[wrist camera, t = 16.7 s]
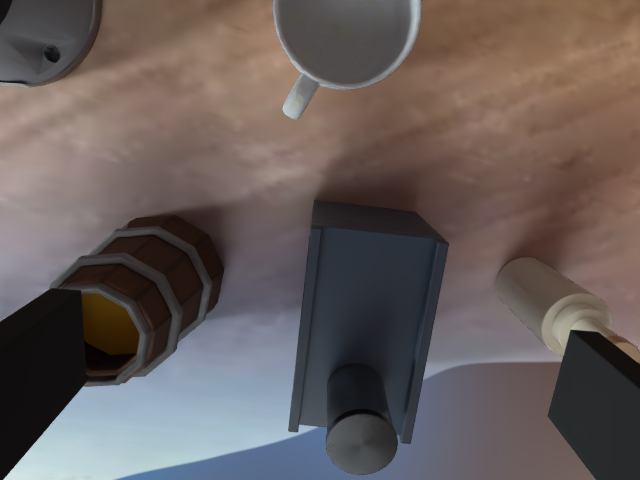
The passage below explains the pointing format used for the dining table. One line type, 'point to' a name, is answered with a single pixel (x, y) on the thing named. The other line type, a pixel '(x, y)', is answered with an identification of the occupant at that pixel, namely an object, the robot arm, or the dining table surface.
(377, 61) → the teacup
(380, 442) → the spice tin
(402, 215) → the blue channel bracket
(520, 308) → the oil bottle
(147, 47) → the dining table surface
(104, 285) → the mug
